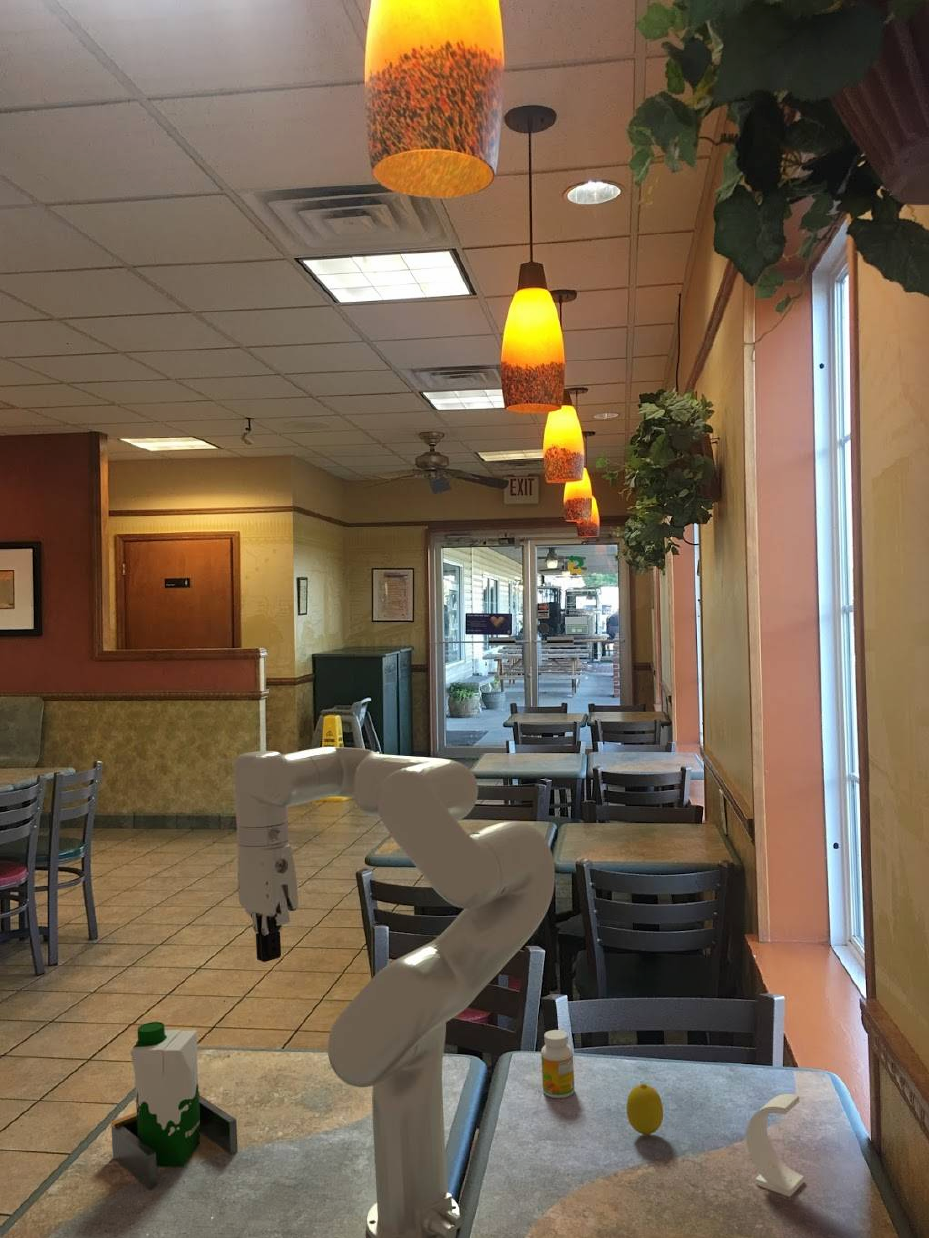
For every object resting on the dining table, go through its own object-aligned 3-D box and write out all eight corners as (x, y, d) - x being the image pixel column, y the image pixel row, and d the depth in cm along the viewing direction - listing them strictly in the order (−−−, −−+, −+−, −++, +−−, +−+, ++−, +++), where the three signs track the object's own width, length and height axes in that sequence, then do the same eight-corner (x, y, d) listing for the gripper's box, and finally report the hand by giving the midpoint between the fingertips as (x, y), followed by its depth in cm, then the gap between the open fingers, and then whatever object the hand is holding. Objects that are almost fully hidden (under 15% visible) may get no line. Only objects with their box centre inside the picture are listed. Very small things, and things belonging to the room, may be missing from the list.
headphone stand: (790, 1197, 134) (784, 1108, 135) (748, 1182, 139) (743, 1096, 139) (804, 1181, 138) (799, 1095, 138) (763, 1167, 142) (758, 1083, 142)
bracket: (237, 1151, 154) (236, 1115, 154) (149, 1190, 144) (147, 1151, 145) (197, 1123, 164) (196, 1089, 164) (112, 1157, 154) (111, 1121, 154)
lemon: (623, 1141, 151) (620, 1088, 151) (634, 1124, 156) (631, 1073, 156) (658, 1148, 149) (655, 1094, 149) (668, 1130, 154) (666, 1079, 154)
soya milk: (153, 1140, 159) (147, 1015, 159) (208, 1140, 158) (202, 1015, 158) (130, 1170, 150) (124, 1038, 150) (188, 1170, 149) (181, 1037, 150)
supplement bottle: (537, 1089, 170) (534, 1032, 170) (564, 1081, 172) (561, 1025, 172) (553, 1101, 165) (549, 1043, 165) (580, 1094, 167) (577, 1036, 167)
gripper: (312, 836, 144) (318, 962, 144) (259, 825, 155) (265, 942, 155) (267, 846, 139) (273, 976, 139) (215, 833, 150) (221, 954, 150)
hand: (269, 958), depth 147 cm, fingers closed
